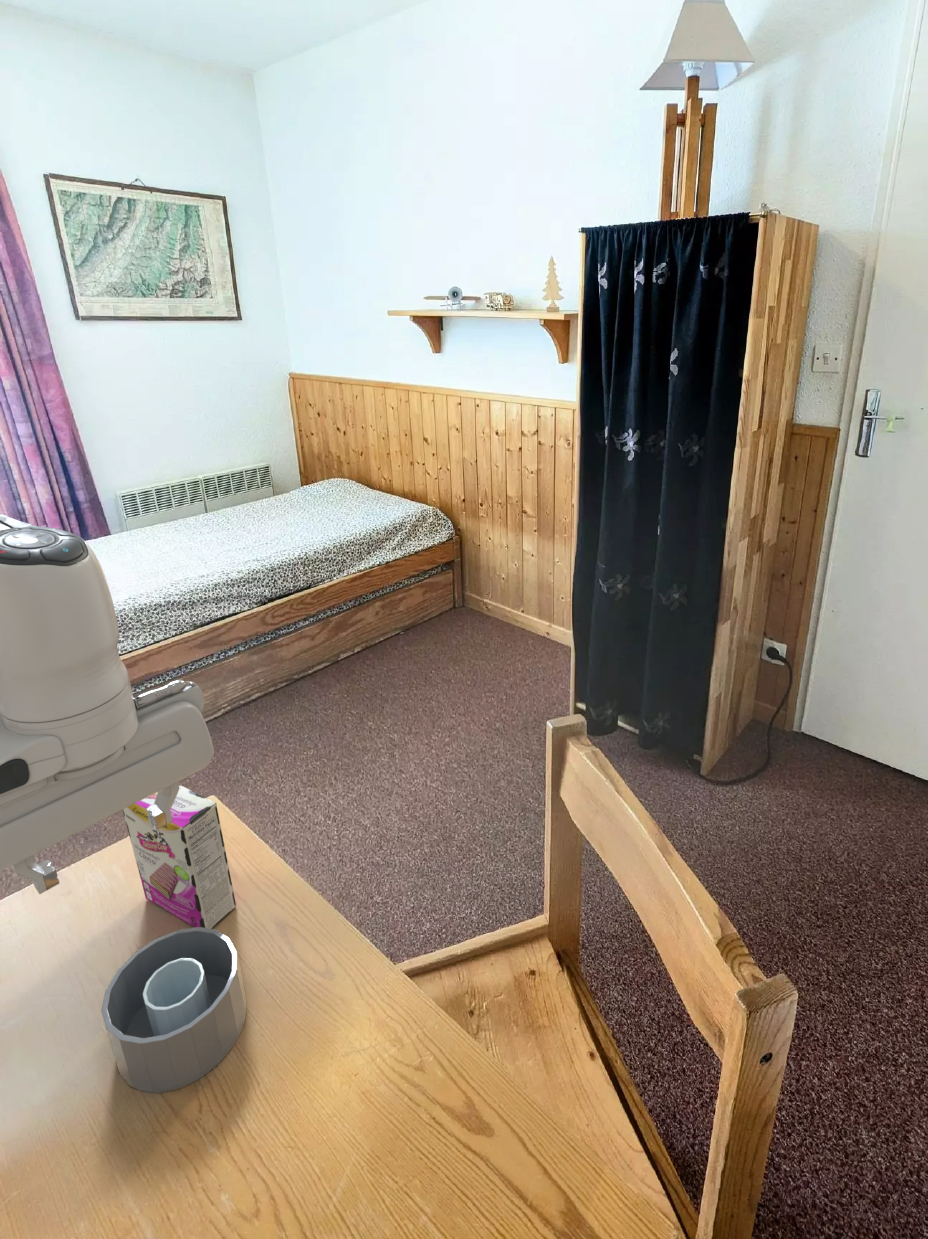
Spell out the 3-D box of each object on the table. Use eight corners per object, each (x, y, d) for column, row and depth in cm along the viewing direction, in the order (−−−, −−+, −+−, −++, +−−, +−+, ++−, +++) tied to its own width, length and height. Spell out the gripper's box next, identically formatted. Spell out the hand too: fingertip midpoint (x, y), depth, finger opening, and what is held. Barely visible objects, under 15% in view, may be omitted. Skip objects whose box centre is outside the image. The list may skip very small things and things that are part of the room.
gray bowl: (96, 1037, 68) (81, 988, 66) (211, 953, 77) (202, 907, 75) (149, 1124, 61) (134, 1072, 59) (269, 1020, 70) (261, 972, 68)
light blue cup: (144, 1028, 69) (133, 987, 67) (197, 988, 73) (188, 948, 71) (169, 1064, 65) (157, 1022, 63) (223, 1021, 69) (214, 979, 67)
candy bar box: (142, 902, 84) (115, 795, 78) (178, 873, 88) (154, 770, 82) (204, 939, 79) (180, 828, 73) (238, 907, 83) (218, 799, 77)
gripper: (182, 661, 65) (202, 778, 70) (-93, 765, 50) (-43, 906, 55) (215, 684, 61) (235, 806, 66) (-71, 804, 46) (-19, 951, 51)
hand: (107, 853), depth 60 cm, fingers open, 8 cm apart
